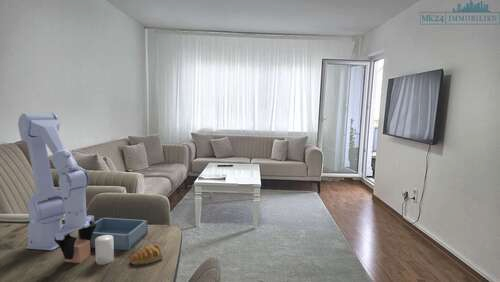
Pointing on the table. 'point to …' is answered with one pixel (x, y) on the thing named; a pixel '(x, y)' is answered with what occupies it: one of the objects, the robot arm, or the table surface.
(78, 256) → the cube
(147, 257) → the pastry
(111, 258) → the white egg shape
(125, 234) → the tote
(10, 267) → the table surface
